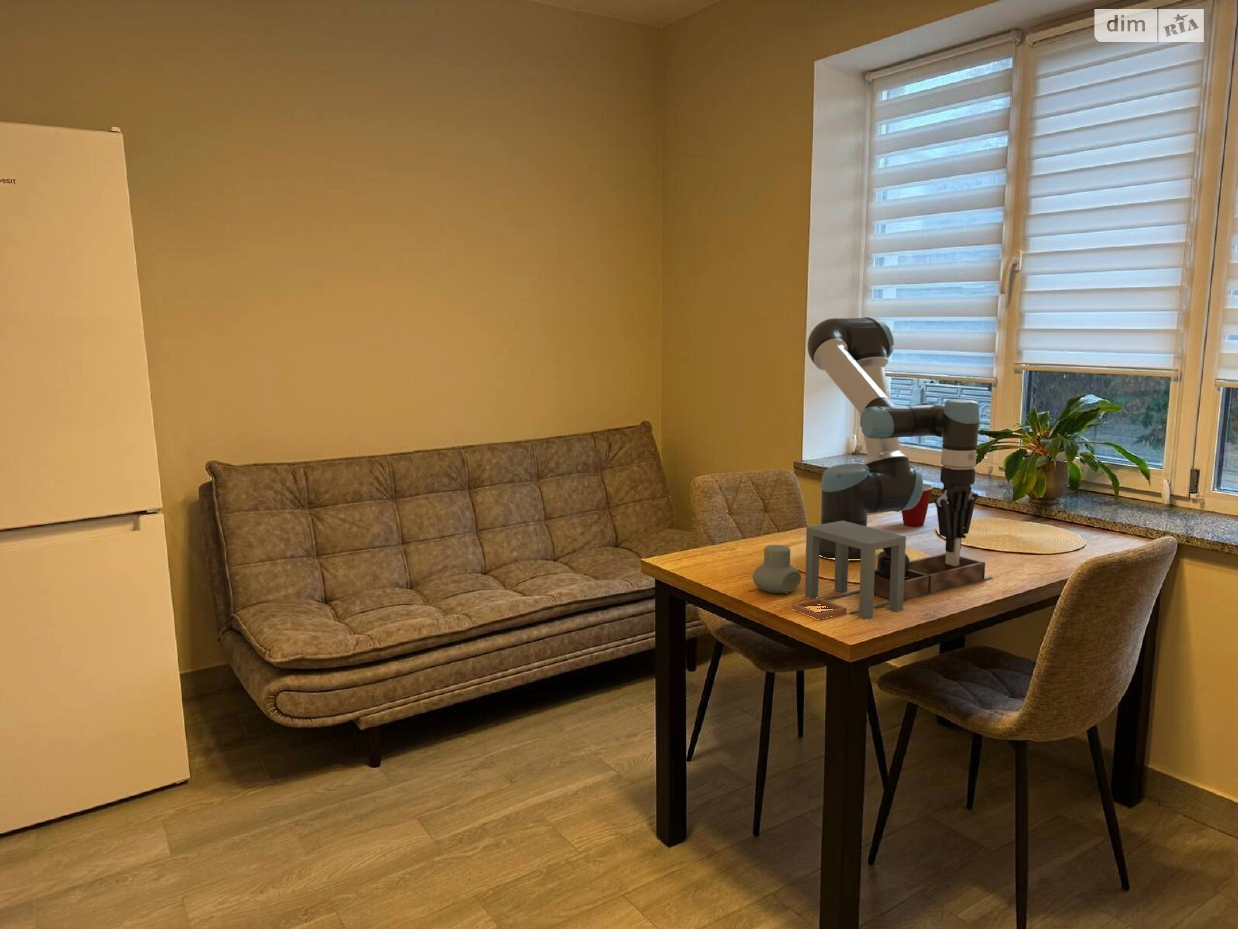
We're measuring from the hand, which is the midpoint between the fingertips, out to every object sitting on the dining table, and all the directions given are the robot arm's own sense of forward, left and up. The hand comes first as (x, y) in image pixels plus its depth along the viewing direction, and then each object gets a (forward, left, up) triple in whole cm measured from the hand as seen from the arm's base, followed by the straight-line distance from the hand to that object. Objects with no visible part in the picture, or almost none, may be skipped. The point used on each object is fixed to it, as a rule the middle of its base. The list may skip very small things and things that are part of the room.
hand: (952, 564), depth 206 cm
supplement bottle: (+1, -21, -4) cm, 21 cm away
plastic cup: (-41, +35, -4) cm, 55 cm away
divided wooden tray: (+1, -10, -3) cm, 11 cm away
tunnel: (+1, -16, -3) cm, 16 cm away
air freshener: (-16, -41, -4) cm, 44 cm away
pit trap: (+1, -43, -3) cm, 43 cm away
